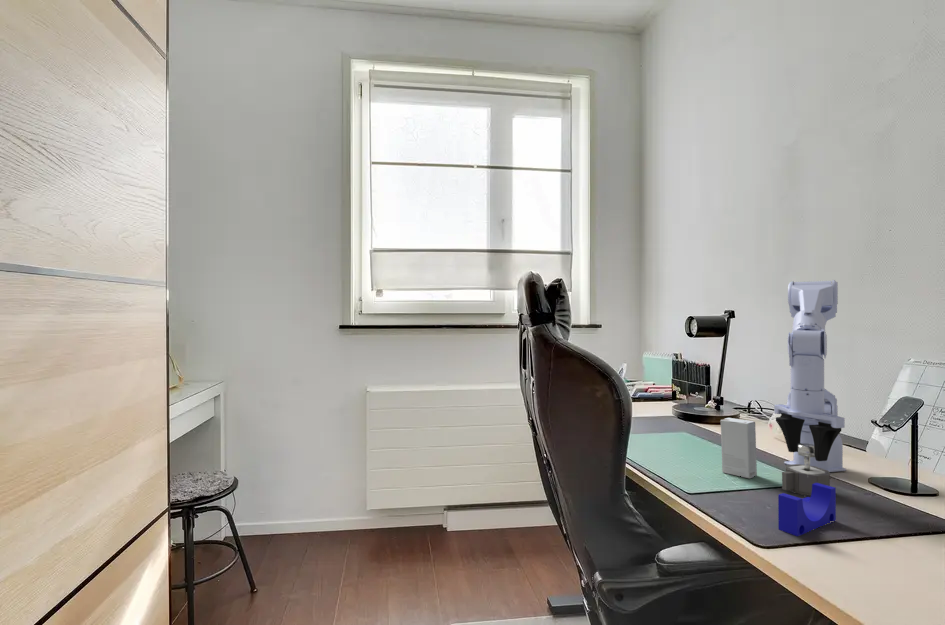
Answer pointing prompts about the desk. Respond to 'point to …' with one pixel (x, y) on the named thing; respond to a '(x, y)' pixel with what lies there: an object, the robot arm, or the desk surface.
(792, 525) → the blue u-shaped cradle block
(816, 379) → the robot arm
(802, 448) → the plunger
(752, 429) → the skincare box
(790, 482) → the press
